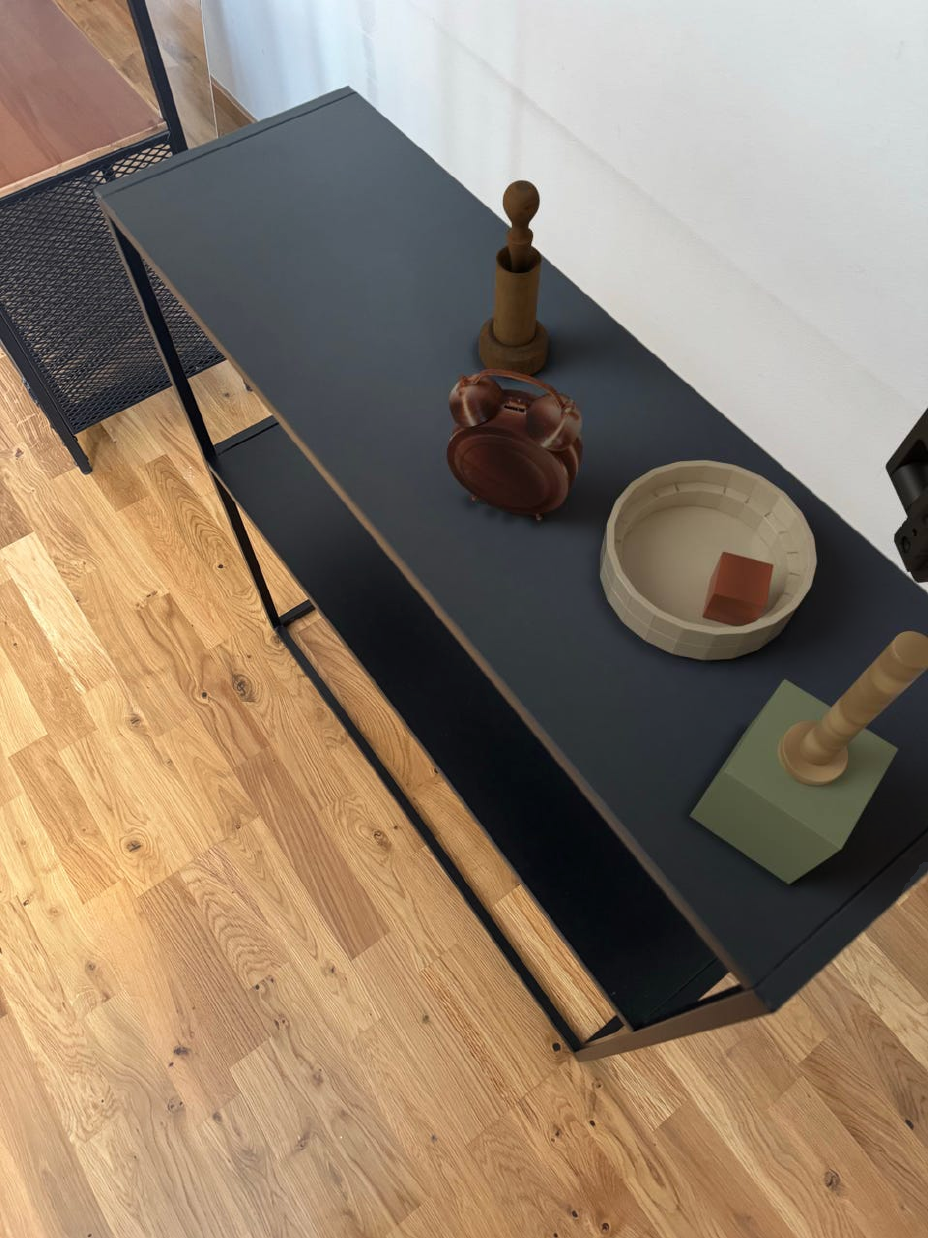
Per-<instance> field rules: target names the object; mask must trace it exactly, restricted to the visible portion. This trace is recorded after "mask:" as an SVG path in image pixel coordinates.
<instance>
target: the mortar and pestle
mask: <svg viewBox="0 0 928 1238" xmlns="http://www.w3.org/2000/svg"><path fill="white" fill-rule="evenodd" d="M540 197H541V196H540V193H539V190H538V189H537V187H536V186H535V185H534V183H532V182H531V181H529V180H525V179H519V180H515V181H513V182H511V183H510V184H509V185H508V186H507V187H506V189H505V190H504V193H503V196H502V209H503V211H504V213H505V215H506V216H507V218H508V220H509V221H510V223H511V227H510V228H508V230H507V231H506V235H505V236H506V244H507V245H505V246H503V247H501V248H500V249H499V250H498V251H497V253H496V255H495V266H494V267H495V269H494V270H495V271H494V272H495V273H494V275H495V277H494V281H495V282H494V305H493V309H494V310H493V316H492V317H491V318H489V319H488V320H487V321H486V322H485V323H483V325H482V327H481V329H480V332H479V338H478V339H479V340H478V355H479V359H480V362H481V363H482V365H483V366H484V367H485V368H486V369H499V370H507V371H513V372H517V373H521V374H524V375H528V376H532V375H534V374H536V373H537V372H538V371H540V370H541V369H542V368H543V367H544V365H545V363H546V361H547V356H548V345H549V336H548V332H547V330H546V327H544V325H543V324H542V323H541V322H540V321H539V320H538V319H537V310H538V300H539V298H538V297H539V288H540V287H539V285H540V279H541V278H540V277H541V270H542V269H541V268H542V255H541V253H540V251H539V250H538V249H537V248H535V247H534V246H532V244H533V240H534V232H533V230H532V229H531V228H530V227H529V226H530V223H531V222H532V221H533V219H534V218H535V216H536V215H537V213H538V211H539V208H540V204H541V198H540ZM506 378H507V379H508V377H506Z"/></svg>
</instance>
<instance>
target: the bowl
mask: <svg viewBox="0 0 928 1238" xmlns="http://www.w3.org/2000/svg"><path fill="white" fill-rule="evenodd" d="M722 552H727V553H731V554H735V555H739V556H743V557H747V558H751V559H755V560H758V561H762V562H766V563H770V564H773V565H774V566H773V571H772V577H771V582H770V587H769V593H768V598H767V604H766V607H765V609H764V610H763V612H762V614H761V616H760V617H759V619H758V620H757V621H755V622H753V623H750V624H747V625H744V626H738V627H736V626H732V625H728V624H725V623H721V622H717V621H713V620H710V619H706V618H703V617H702V615H703V610H704V606H705V602H706V597H707V593H708V588H709V584H710V579H711V576H712V574H713V572H714V570H715V567H716V565H717V563H718V561H719V559H720V557H721V554H722ZM599 554H600V555H599V578H600V581H601V584H602V588H603V590H604V593H605V596H606V600H607V601H608V603H609V605H610V606H611V608H612V609H613V610H614V612H615V614H616V615H617V616H618V618H619V619H620V621H621V623H623V624H624V625H625V626H627V627H628V628H629V629H630V630H631V631H632V632H634V633H635V634H636V635H638V637H640V638H641V639H642V640H643V641H645V642H646V643H648V644H651V645H653V646H655V647H657V648H659V649H661V650H663V651H664V652H667V653H670V654H671V655H676V656H680V657H684V658H690V659H695V660H699V661H713V660H730V659H731V660H732V659H735V658H738V657H741V656H744V655H747V654H750V653H752V652H755V651H759V650H760V649H761V648H763V647H764V646H765V645H767V644H768V643H770V642H771V641H772V640H774V639H775V638H776V637H778V636H779V635H780V634H781V633H782V631H783V630H784V628H785V627H786V625H787V624H788V622H789V621H790V620H791V618H792V617H793V615H794V613H795V612H796V610H797V609H798V607H799V606H800V604H801V603H802V601H803V600H804V598H805V597H806V595H807V594H808V592H809V591H810V590H811V587H812V586H813V581H814V576H815V573H816V568H817V565H818V559H817V551H816V543H815V536H814V533H813V532H812V530H811V528H810V525H809V523H808V521H807V519H806V517H805V515H804V513H803V512H802V510H801V509H800V508H799V507H798V506H797V504H795V502H794V501H793V500H792V499H791V498H790V497H789V495H788V494H787V493H786V492H785V491H783V490H782V489H781V488H779V487H778V486H776V485H775V484H774V483H772V482H771V481H769V480H768V479H766V478H765V477H764V476H762V475H760V474H758V473H755V472H753V471H751V470H749V469H746V468H744V467H741V466H738V465H736V464H731V463H725V462H719V461H714V460H709V459H707V460H706V459H701V460H699V459H698V460H683V461H682V460H681V461H680V460H679V461H676V462H672V463H669V464H666V465H662V466H659V467H655V468H653V469H650V470H649V471H648V472H646V473H645V474H643V475H641V476H639V477H638V478H636V479H635V480H633V481H631V482H630V484H629V485H628V486H627V487H626V488H625V489H624V491H623V492H622V493H621V494H620V495H619V496H618V498H617V499H616V500H615V502H614V504H613V507H612V509H611V512H610V515H609V518H608V520H607V523H606V527H605V531H604V536H603V540H602V545H601V548H600V553H599Z"/></svg>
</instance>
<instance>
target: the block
mask: <svg viewBox="0 0 928 1238" xmlns="http://www.w3.org/2000/svg"><path fill="white" fill-rule="evenodd" d="M773 566H774V565H773V564H770V563H766V562H762V561H758V560H755V559H751V558H747V557H743V556H739V555H735V554H731V553H727V552H722V554H721V557H720V559H719V561H718V563H717V565H716V567H715V570H714V572H713V574H712V576H711V579H710V584H709V588H708V593H707V597H706V602H705V606H704V610H703V615H702V617H703V618H706V619H710V620H713V621H717V622H721V623H725V624H728V625H732V626H736V627H738V626H744V625H747V624H750V623H753V622H755V621H757V620H758V619H759V617H760V616H761V614H762V612H763V610H764V609H765V607H766V604H767V598H768V593H769V587H770V582H771V577H772V571H773Z"/></svg>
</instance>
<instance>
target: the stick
mask: <svg viewBox="0 0 928 1238" xmlns="http://www.w3.org/2000/svg"><path fill="white" fill-rule="evenodd" d="M926 670H928V636H926V635H924V634H923V633H920V632H917V631H913V630H910V631H909V630H906V631H903V632H901V633H899V634H897V635H896V636H895V637H894V638H893V640H891V641H890V643H889V644H888V645H887V646H886V647H885V648H884V649H883V651H881V652H880V654H879V655H878V656H877V657H876V658H875V659H874V660H873V661H872V662H871V664H870V665H869V666H868V667H867V668H866V669H865V670H864V671H863V672H862V673H861V675H860V676H859V677H858V678H857V679H856V680H855V681H854V682H853V683H852V684H851V685H850V687H849V688H848V689H847V690H846V691H845V692H844V693H843V694H842V695H841V697H839V699H838V700H837V701H836V702H835V703H834V704H833V705H832V706H830V707H831V709H830V710H829V711H828V712H827V713H826V714H825V715H824V716H823V717H822V718H821V719H820V721H819V722H816V721H803V722H799V723H796V724H795V725H793V726H792V727H790V728H789V729H788V730H787V732H786V733H785V734H784V735H783V737H782V738H781V740H780V743H779V747H778V754H779V759H780V762H781V764H782V766H783V768H784V769H785V771H786V772H787V773H788V774H789V775H790V776H791V777H792V778H794V779H795V780H797V781H798V782H800V783H803V784H806V785H809V786H823V785H827V784H829V783H831V782H833V781H834V780H835V779H837V778H838V777H839V776H840V775H841V774H842V773H843V771H844V770H845V768H846V766H847V762H848V752H847V748H846V745H847V744H848V743H849V742H850V741H851V740H852V739H853V738H854V737H856V736H857V735H858V734H859V733H860V732H861V731H862V730H863V729H864V728H865V729H866V728H867V726H869V724H871V722H872V721H874V720H875V719H876V718H877V717H878V716H879V715H880V714H881V713H882V712H883V711H885V709H886V708H888V706H890V705H891V704H892V703H893V702H894V701H895V700H896V699H897V698H898V697H899V696H901V694H902V693H904V691H905V690H907V689H908V687H910V686H911V684H913V683H914V682H915V681H916V680H917V679H918V678H920V676H921V675H923V674H924V672H925V671H926Z"/></svg>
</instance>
